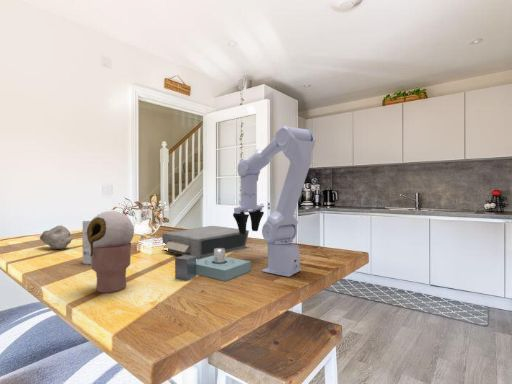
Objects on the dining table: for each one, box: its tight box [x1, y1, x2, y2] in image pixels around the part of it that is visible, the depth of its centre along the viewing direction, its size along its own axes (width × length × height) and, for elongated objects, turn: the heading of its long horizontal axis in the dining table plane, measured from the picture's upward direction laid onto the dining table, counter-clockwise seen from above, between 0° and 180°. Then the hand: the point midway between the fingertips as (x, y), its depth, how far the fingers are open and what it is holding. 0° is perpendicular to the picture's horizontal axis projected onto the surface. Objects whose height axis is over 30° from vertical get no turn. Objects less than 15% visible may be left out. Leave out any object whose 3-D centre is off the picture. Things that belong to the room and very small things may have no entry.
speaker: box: [161, 225, 249, 260], centre depth 122 cm, size 24×8×30 cm
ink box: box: [81, 220, 91, 265], centre depth 101 cm, size 8×5×15 cm, turn 72°
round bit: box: [214, 248, 226, 264], centre depth 90 cm, size 3×3×7 cm
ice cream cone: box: [86, 210, 135, 294], centre depth 75 cm, size 11×11×20 cm
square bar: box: [174, 255, 197, 282], centre depth 84 cm, size 4×4×6 cm
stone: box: [39, 224, 73, 250], centre depth 124 cm, size 9×14×10 cm, turn 59°
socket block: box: [196, 255, 252, 282], centre depth 90 cm, size 15×12×3 cm
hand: (248, 232), depth 104 cm, fingers open, 7 cm apart
